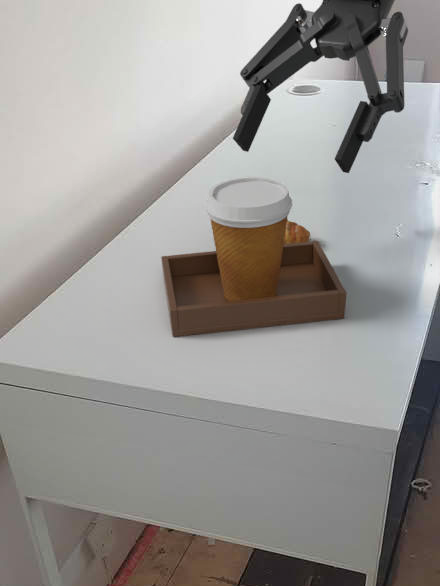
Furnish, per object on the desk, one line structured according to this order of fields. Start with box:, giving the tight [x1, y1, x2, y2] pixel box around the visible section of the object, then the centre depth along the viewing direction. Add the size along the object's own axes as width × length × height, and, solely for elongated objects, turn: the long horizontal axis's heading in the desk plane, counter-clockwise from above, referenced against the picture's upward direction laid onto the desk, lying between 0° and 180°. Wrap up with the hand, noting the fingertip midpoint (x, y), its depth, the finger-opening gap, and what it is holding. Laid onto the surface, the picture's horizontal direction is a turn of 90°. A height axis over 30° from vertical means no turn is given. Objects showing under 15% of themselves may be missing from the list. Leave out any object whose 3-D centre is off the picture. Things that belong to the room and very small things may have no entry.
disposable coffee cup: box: [204, 176, 293, 301], centre depth 81 cm, size 10×10×12 cm
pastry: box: [284, 219, 311, 244], centre depth 95 cm, size 9×7×4 cm
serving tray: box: [160, 240, 347, 338], centre depth 85 cm, size 20×14×3 cm
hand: (288, 155), depth 80 cm, fingers open, 13 cm apart
